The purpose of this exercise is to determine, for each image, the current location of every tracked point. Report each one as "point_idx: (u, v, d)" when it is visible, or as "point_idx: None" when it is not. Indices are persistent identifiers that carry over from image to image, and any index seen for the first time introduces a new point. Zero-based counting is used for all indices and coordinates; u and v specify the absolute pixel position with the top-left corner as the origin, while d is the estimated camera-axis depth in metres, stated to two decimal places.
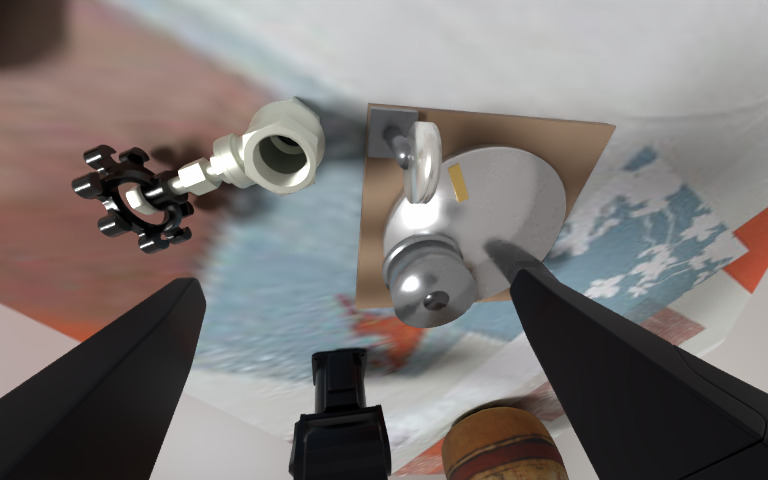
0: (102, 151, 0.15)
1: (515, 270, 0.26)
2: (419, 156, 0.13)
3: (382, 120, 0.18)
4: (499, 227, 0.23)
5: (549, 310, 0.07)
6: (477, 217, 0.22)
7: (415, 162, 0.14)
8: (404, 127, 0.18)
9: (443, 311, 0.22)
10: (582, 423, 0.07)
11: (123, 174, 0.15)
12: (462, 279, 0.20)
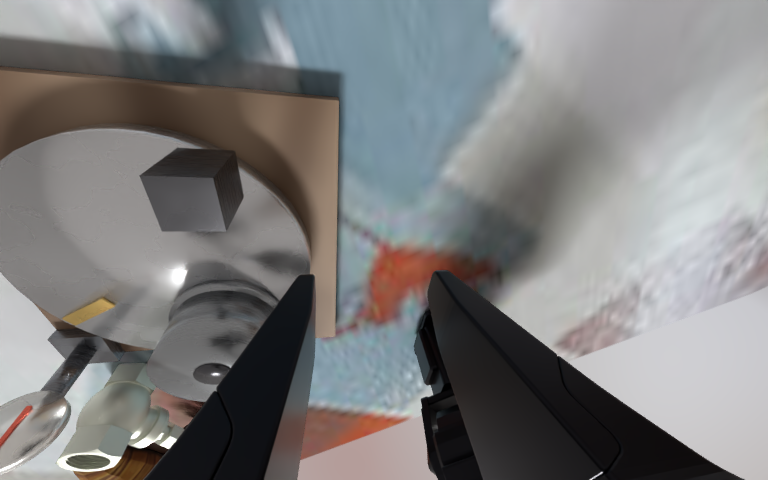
0: None
1: None
2: None
3: None
4: (130, 248, 0.15)
5: (451, 316, 0.07)
6: (127, 279, 0.16)
7: None
8: (70, 345, 0.19)
9: None
10: (477, 439, 0.06)
11: None
12: (163, 361, 0.15)
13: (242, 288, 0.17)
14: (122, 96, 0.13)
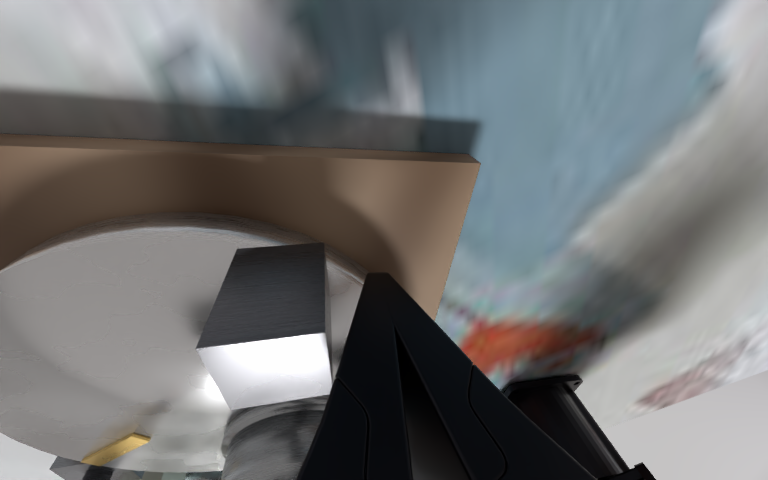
0: None
1: None
2: None
3: None
4: (168, 378, 0.10)
5: None
6: (165, 411, 0.12)
7: None
8: (79, 471, 0.15)
9: None
10: None
11: None
12: None
13: (319, 405, 0.12)
14: (168, 173, 0.08)
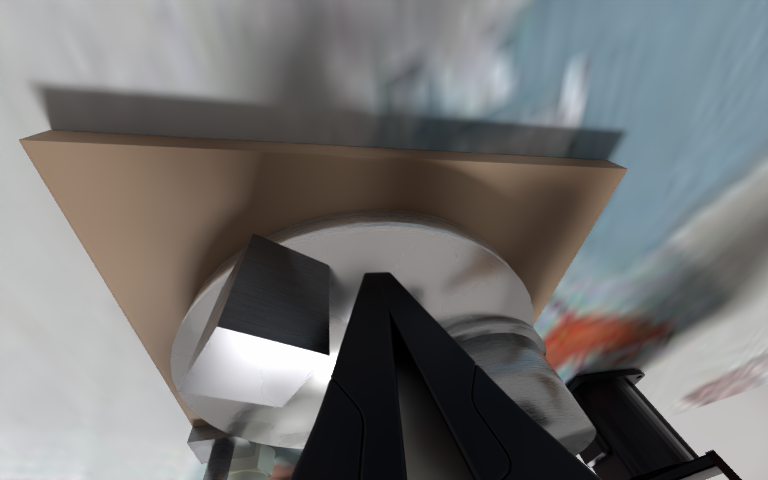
0: None
1: None
2: None
3: (209, 457, 0.17)
4: (321, 384, 0.13)
5: None
6: None
7: None
8: (209, 446, 0.16)
9: None
10: (404, 451, 0.06)
11: None
12: None
13: None
14: (380, 175, 0.09)
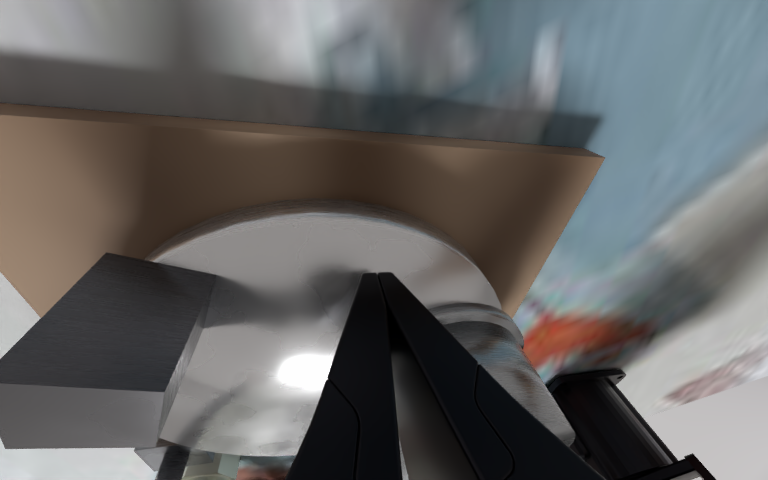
0: None
1: (204, 320, 0.08)
2: None
3: None
4: (275, 395, 0.12)
5: None
6: None
7: None
8: (160, 453, 0.15)
9: None
10: (406, 451, 0.06)
11: None
12: None
13: None
14: (322, 159, 0.08)
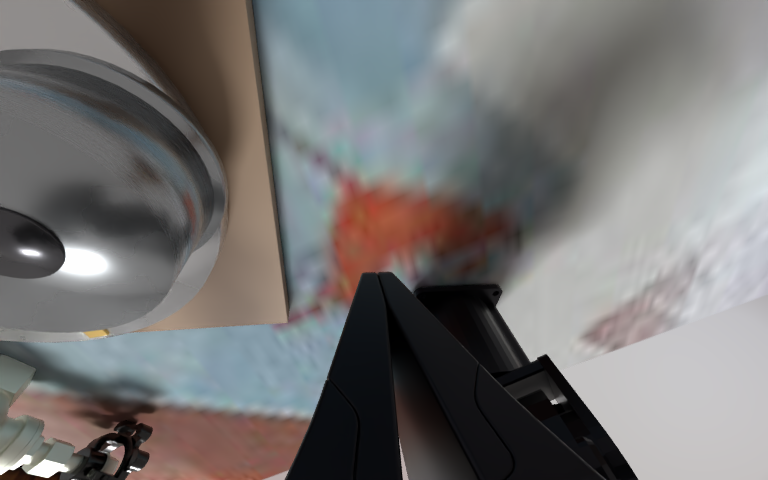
0: None
1: None
2: None
3: None
4: None
5: None
6: None
7: None
8: None
9: None
10: (406, 451, 0.06)
11: None
12: None
13: None
14: None
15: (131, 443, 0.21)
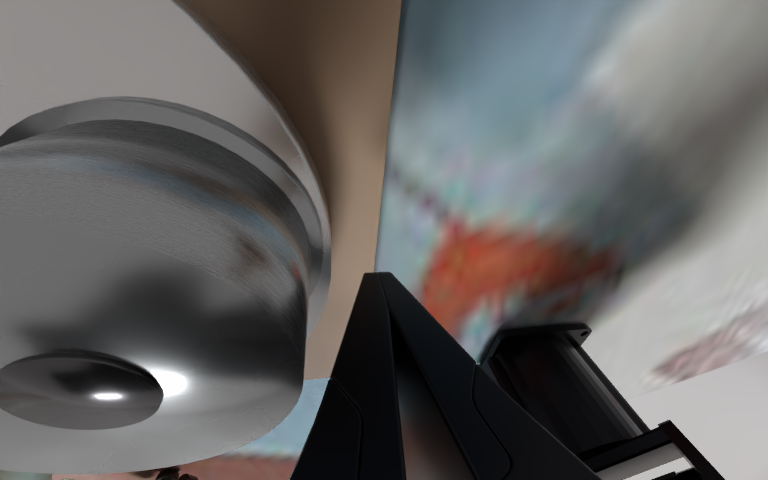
0: None
1: None
2: None
3: None
4: None
5: None
6: None
7: None
8: None
9: None
10: (404, 451, 0.06)
11: None
12: None
13: None
14: None
15: None
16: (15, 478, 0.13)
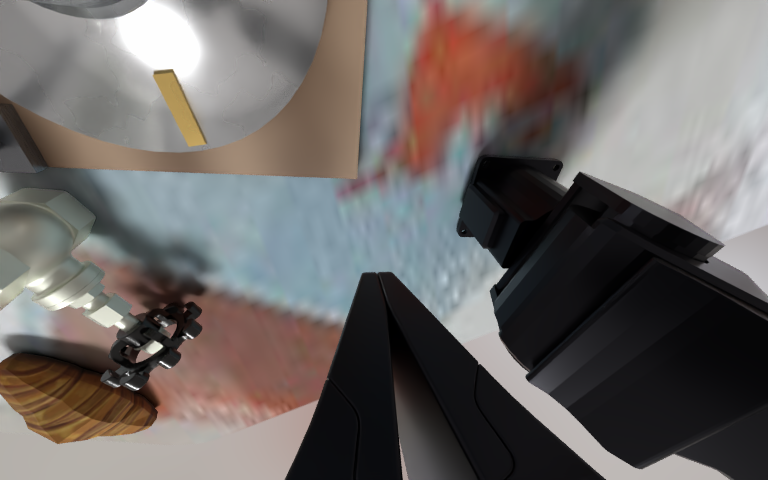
0: (110, 355, 0.20)
1: None
2: None
3: None
4: None
5: None
6: None
7: None
8: None
9: None
10: (406, 451, 0.06)
11: (111, 356, 0.19)
12: None
13: None
14: None
15: (182, 318, 0.21)
16: (42, 220, 0.14)
